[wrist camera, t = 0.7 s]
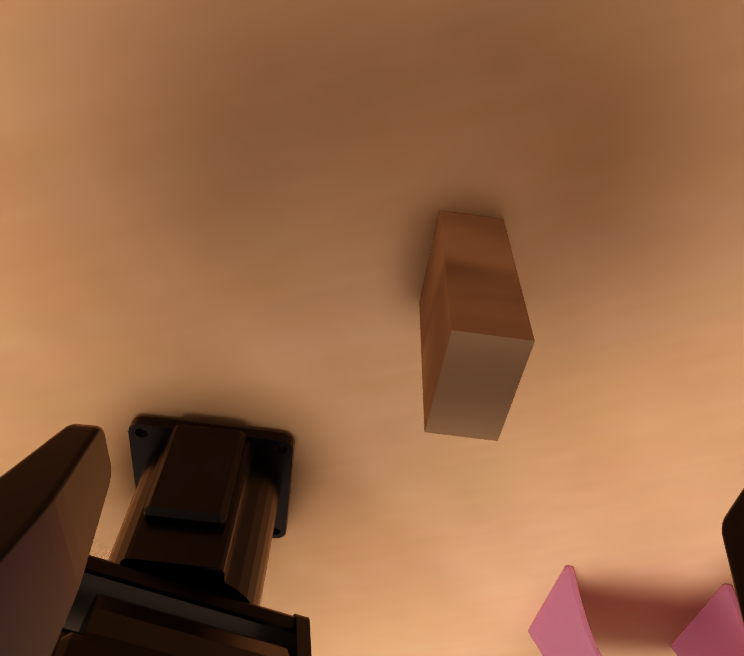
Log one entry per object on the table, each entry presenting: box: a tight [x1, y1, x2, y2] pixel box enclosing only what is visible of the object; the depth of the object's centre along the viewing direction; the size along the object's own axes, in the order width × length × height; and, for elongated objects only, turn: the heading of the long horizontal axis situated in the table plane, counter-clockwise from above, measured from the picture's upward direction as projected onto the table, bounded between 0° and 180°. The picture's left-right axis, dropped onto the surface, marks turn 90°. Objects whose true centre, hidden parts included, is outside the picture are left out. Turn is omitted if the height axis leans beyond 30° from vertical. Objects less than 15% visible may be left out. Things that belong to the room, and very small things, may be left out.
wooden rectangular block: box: [419, 211, 535, 441], centre depth 19 cm, size 4×2×6 cm, turn 172°
